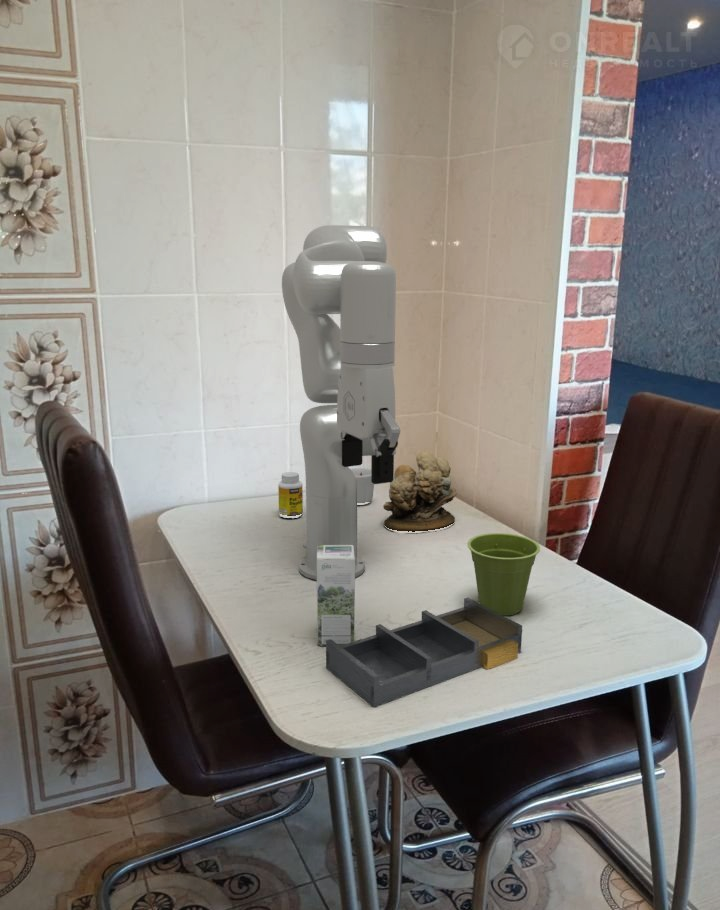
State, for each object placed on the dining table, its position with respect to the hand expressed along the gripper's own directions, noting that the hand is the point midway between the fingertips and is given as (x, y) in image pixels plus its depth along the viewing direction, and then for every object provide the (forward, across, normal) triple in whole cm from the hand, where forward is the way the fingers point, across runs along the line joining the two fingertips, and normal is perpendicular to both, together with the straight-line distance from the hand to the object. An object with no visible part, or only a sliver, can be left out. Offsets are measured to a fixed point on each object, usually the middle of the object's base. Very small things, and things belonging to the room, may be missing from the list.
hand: (366, 473), depth 108 cm
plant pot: (+27, -1, +26) cm, 38 cm away
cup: (+28, -66, +30) cm, 78 cm away
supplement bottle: (+28, -63, +12) cm, 70 cm away
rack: (+27, +9, +6) cm, 29 cm away
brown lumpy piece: (+28, -45, +36) cm, 64 cm away
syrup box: (+27, -3, -4) cm, 27 cm away
